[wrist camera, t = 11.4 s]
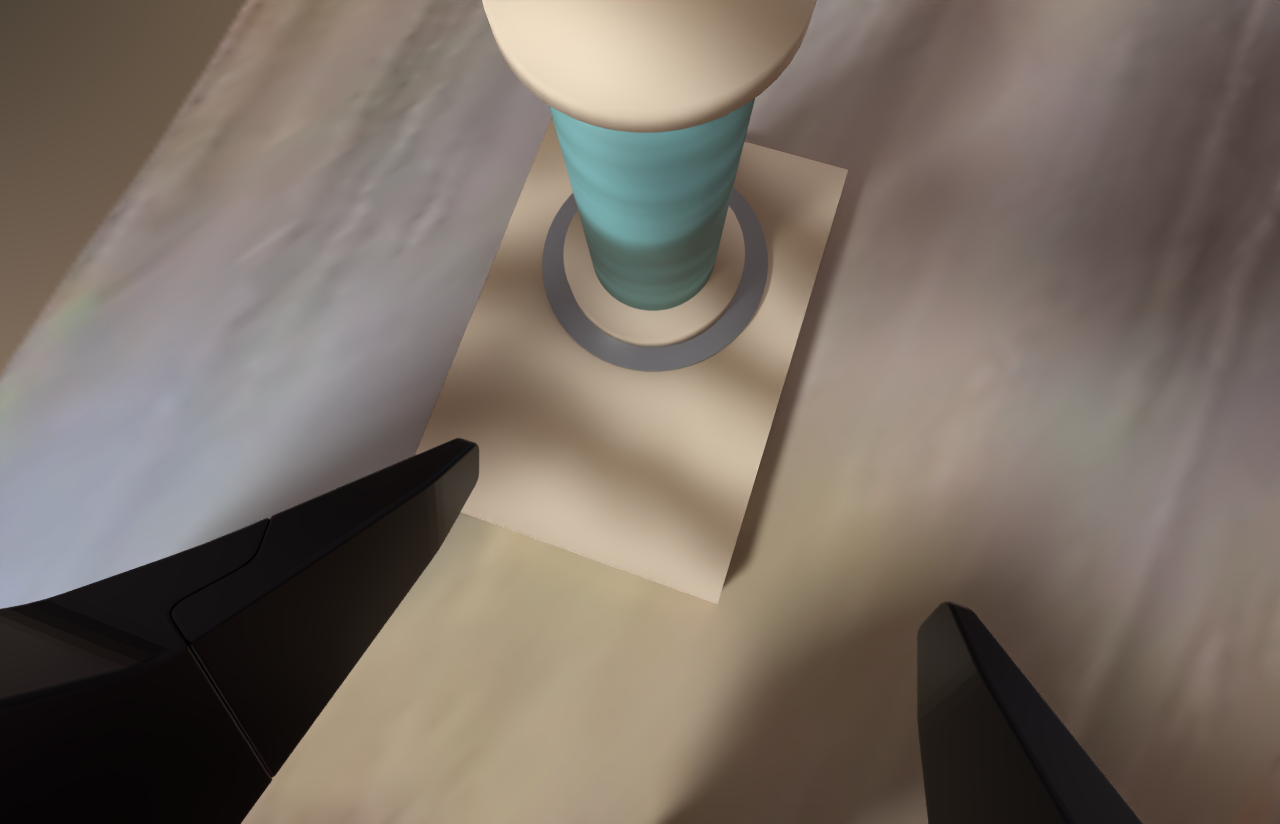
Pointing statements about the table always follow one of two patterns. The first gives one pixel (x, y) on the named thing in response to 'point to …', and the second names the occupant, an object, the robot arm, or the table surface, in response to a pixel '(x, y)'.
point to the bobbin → (651, 144)
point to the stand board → (633, 384)
